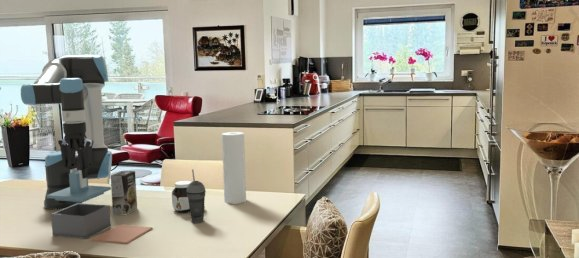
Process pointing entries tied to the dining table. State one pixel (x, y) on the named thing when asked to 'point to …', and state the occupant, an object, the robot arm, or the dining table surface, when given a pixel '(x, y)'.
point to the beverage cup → (196, 200)
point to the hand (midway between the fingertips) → (79, 186)
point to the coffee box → (123, 192)
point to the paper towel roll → (234, 167)
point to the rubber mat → (122, 234)
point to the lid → (78, 190)
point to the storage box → (81, 220)
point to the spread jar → (181, 197)
